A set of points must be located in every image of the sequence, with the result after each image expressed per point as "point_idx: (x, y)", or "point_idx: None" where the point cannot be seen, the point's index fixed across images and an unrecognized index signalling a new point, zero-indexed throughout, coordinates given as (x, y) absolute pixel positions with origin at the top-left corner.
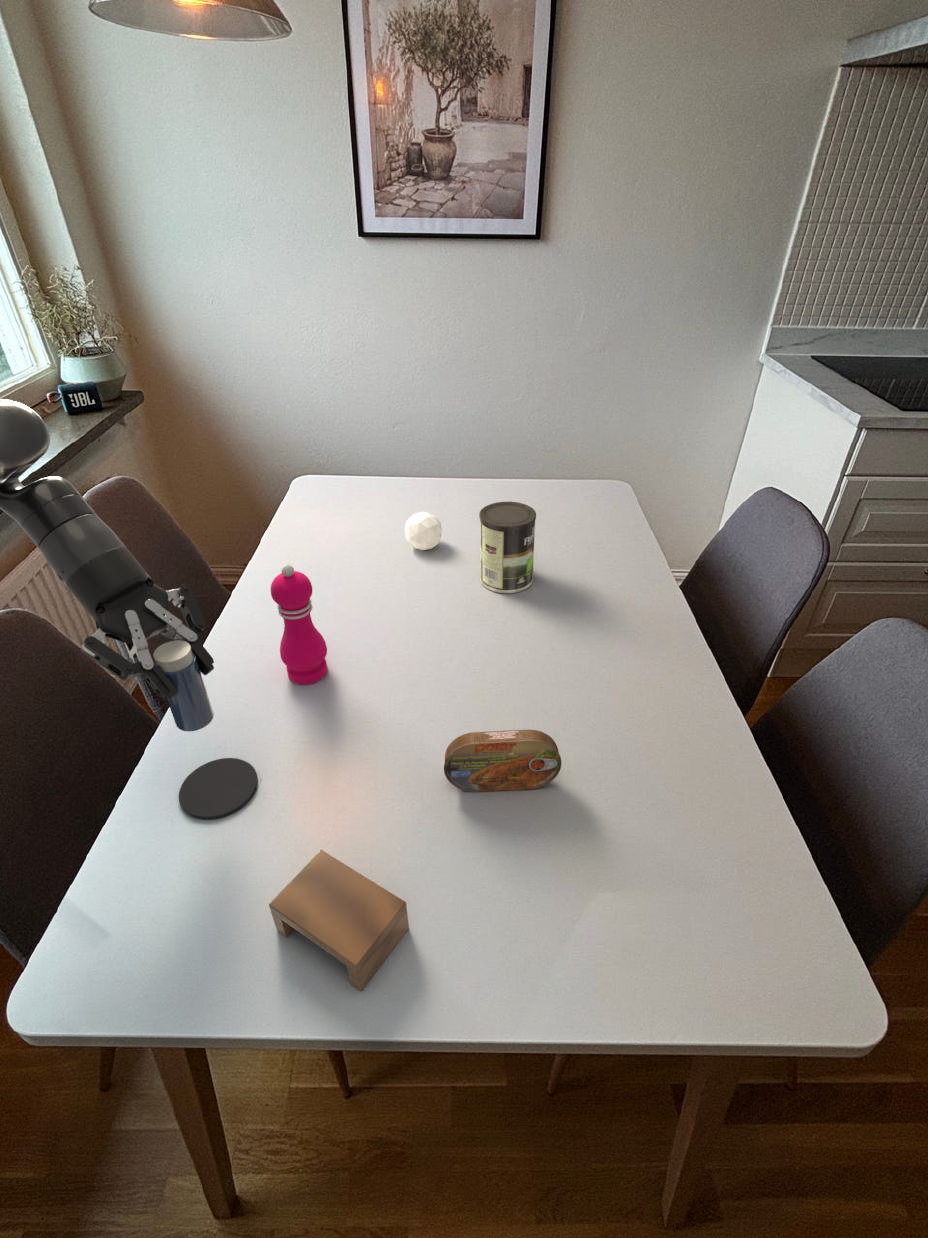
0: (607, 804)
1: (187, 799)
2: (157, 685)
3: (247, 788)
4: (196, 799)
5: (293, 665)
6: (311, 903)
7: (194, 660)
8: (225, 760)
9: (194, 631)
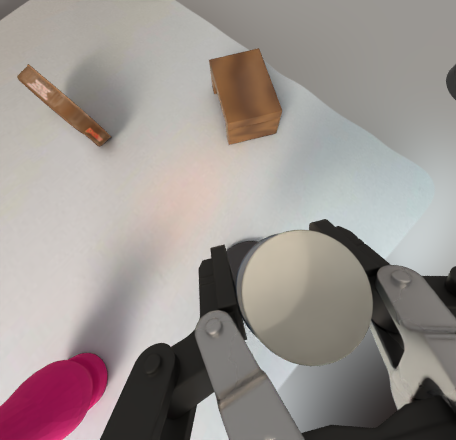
0: (59, 73)
1: None
2: (359, 241)
3: (232, 254)
4: None
5: (86, 379)
6: (257, 94)
7: (249, 252)
8: None
9: (191, 359)
